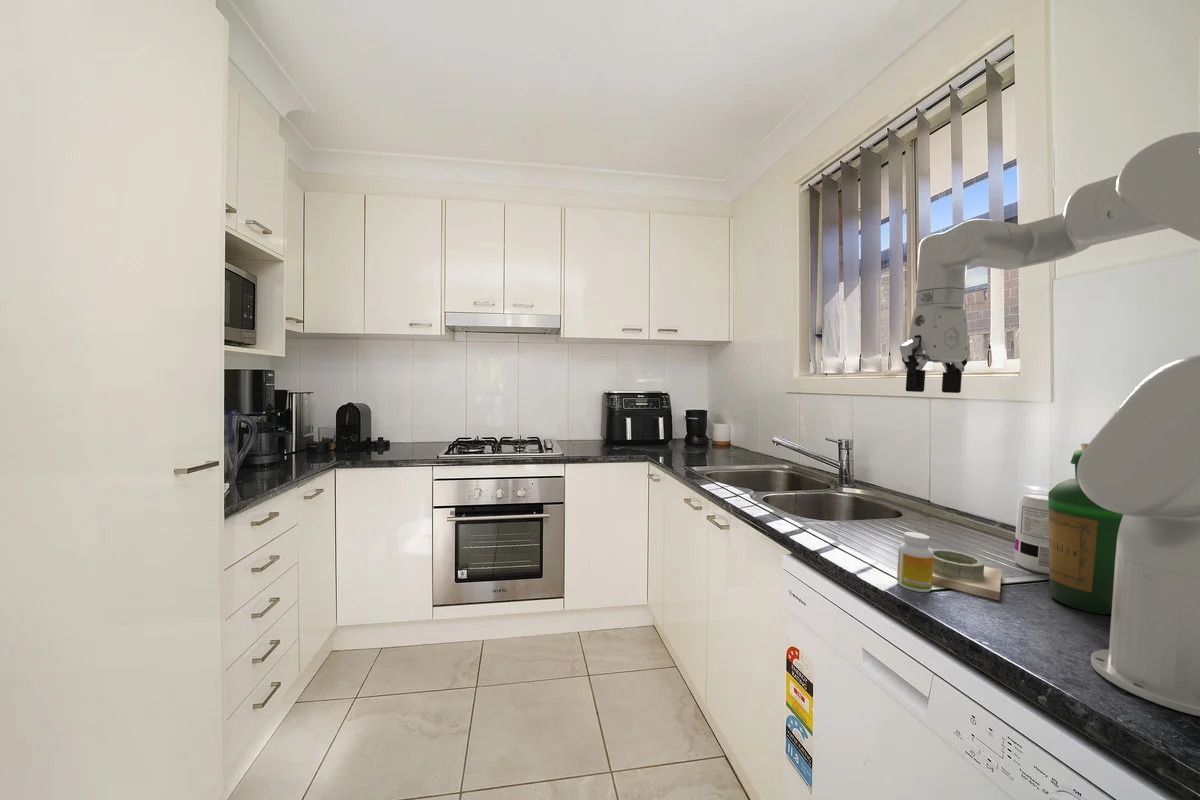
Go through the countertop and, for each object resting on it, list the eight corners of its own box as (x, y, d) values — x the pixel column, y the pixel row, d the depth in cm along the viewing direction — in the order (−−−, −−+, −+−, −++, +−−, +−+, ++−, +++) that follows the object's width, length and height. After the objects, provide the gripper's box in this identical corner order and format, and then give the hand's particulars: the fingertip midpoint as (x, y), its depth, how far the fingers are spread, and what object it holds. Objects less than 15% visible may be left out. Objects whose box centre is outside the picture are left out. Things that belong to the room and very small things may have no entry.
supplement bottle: (938, 593, 84) (941, 540, 84) (908, 592, 85) (911, 539, 84) (919, 581, 90) (921, 530, 89) (890, 580, 90) (893, 529, 90)
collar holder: (1000, 577, 93) (1002, 557, 93) (999, 600, 82) (1000, 578, 82) (916, 558, 102) (917, 540, 102) (905, 577, 91) (906, 556, 91)
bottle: (1036, 585, 89) (1045, 439, 88) (1117, 602, 83) (1128, 444, 82) (1047, 606, 80) (1058, 444, 79) (1139, 626, 74) (1152, 451, 73)
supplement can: (1004, 559, 103) (1008, 491, 103) (1046, 562, 102) (1050, 493, 101) (1032, 574, 95) (1037, 500, 94) (1078, 577, 94) (1083, 503, 93)
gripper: (926, 294, 82) (919, 392, 83) (991, 302, 88) (985, 393, 89) (887, 300, 89) (881, 390, 90) (950, 308, 95) (944, 392, 96)
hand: (933, 392), depth 89 cm, fingers open, 9 cm apart
